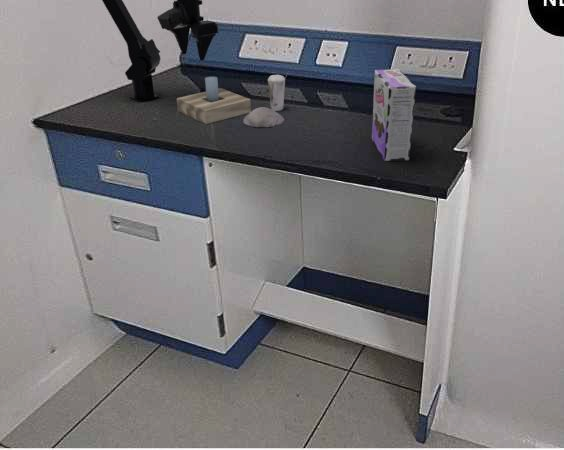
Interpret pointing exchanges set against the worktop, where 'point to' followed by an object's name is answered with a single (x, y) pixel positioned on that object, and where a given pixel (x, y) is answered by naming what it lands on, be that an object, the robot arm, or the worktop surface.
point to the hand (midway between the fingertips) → (192, 57)
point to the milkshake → (276, 91)
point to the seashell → (263, 118)
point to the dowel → (212, 89)
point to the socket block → (213, 106)
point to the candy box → (392, 114)
